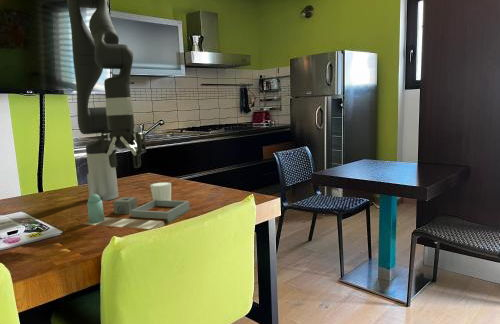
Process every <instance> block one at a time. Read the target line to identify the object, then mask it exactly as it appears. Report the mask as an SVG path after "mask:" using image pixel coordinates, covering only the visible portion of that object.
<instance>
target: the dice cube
mask: <svg viewBox="0 0 500 324" xmlns="http://www.w3.org/2000/svg"><path fill="white" fill-rule="evenodd" d="M112 204H113V212H114V214H115V215H116V214H119V215H120V214H121V215H122V214H123V215H124V214H126V215H127V214H130V215H131V210H133V209H135V208H137V207H138V200H137V196H136V197H135V196H134V197H133V196H130V197H128V196H125V197H122V196H121V197H119V198H116V200H115V199H114V201H113V202H112Z"/></svg>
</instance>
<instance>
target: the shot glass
mask: <svg viewBox="0 0 500 324" xmlns="http://www.w3.org/2000/svg"><path fill="white" fill-rule="evenodd" d="M149 187H150V190H151V196H152V201H153V200H172V182H169V181H166V182H165V181H161V182H155V183H151V184H150V185H149Z"/></svg>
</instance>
